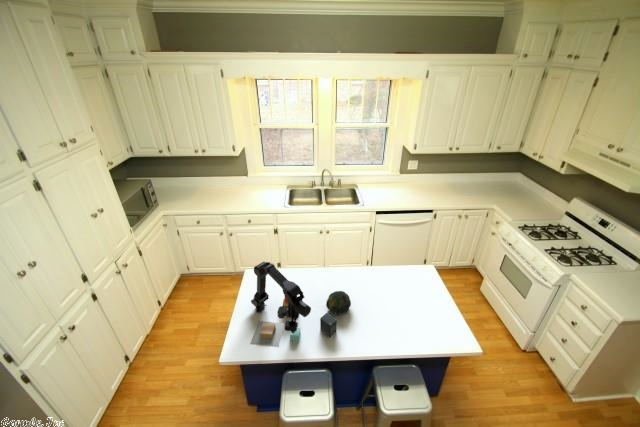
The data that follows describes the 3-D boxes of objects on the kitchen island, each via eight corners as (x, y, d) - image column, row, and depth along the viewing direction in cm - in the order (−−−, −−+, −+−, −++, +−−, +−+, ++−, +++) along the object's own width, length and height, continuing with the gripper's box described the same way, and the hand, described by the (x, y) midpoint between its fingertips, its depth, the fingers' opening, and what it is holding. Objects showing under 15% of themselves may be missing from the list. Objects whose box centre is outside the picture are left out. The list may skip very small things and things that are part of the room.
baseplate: (258, 321, 177) (258, 320, 176) (285, 324, 175) (284, 323, 175) (250, 345, 163) (250, 343, 162) (278, 348, 161) (278, 346, 161)
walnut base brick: (263, 327, 172) (263, 322, 170) (275, 328, 171) (275, 324, 169) (260, 337, 166) (259, 333, 164) (272, 339, 165) (272, 334, 163)
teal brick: (292, 334, 169) (291, 327, 166) (300, 335, 169) (300, 328, 166) (290, 342, 165) (289, 334, 162) (299, 343, 164) (298, 335, 161)
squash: (320, 296, 187) (329, 293, 174) (340, 289, 194) (350, 286, 181) (328, 319, 184) (337, 317, 171) (348, 311, 190) (358, 309, 177)
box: (336, 332, 170) (337, 319, 165) (330, 338, 167) (330, 325, 162) (326, 324, 175) (326, 312, 170) (320, 330, 171) (320, 317, 166)
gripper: (282, 291, 163) (283, 311, 170) (273, 318, 147) (276, 339, 154) (302, 293, 162) (302, 313, 169) (295, 320, 146) (297, 341, 153)
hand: (294, 326), depth 162 cm, fingers open, 9 cm apart
